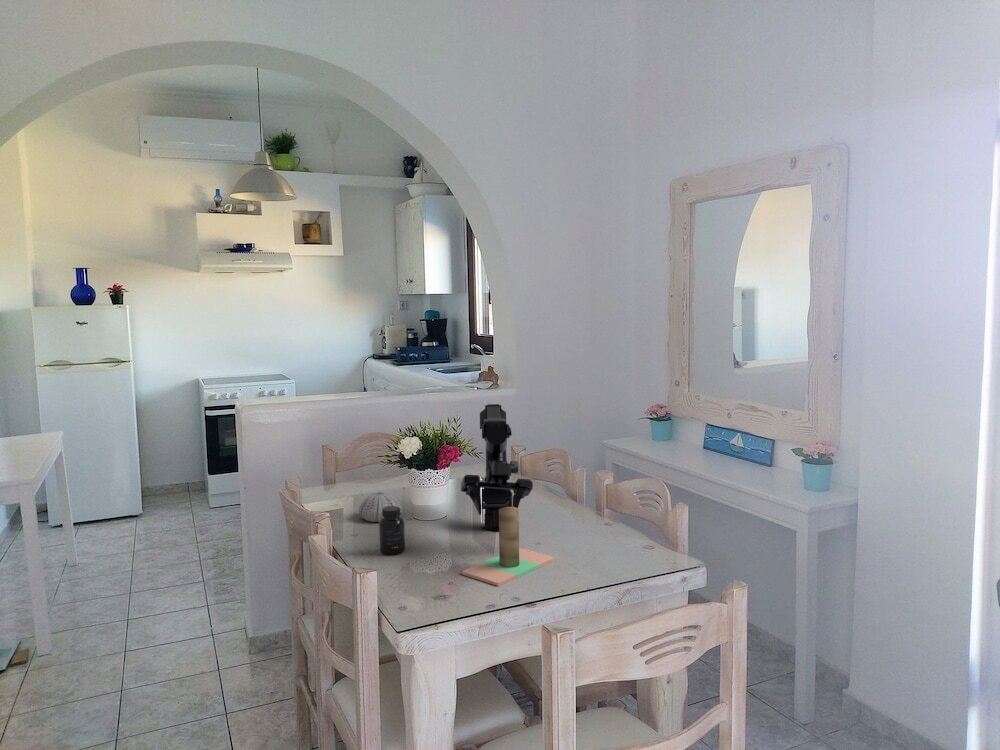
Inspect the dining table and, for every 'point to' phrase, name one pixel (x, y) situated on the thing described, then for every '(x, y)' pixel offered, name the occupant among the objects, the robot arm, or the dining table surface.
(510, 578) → the board
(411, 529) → the dining table surface
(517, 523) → the walnut peg
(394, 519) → the supplement bottle
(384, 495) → the sea urchin shell
